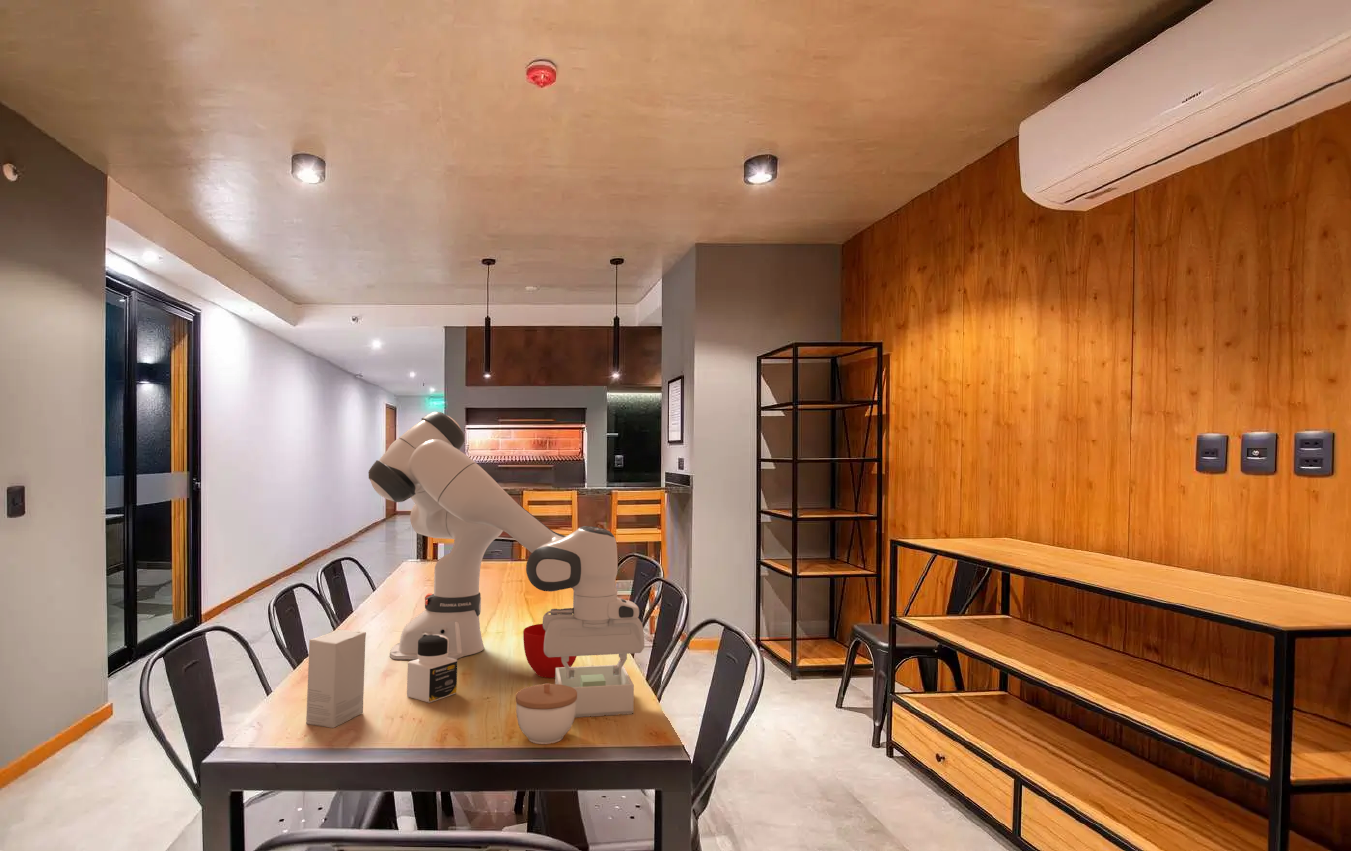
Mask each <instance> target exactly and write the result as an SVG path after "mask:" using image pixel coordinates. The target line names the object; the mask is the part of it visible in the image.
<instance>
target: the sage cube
mask: <svg viewBox="0 0 1351 851" xmlns="http://www.w3.org/2000/svg"><path fill="white" fill-rule="evenodd" d="M605 683H606V681H605V678H604V676H603V674H598V675H581V685H580V687H588V686H605Z"/></svg>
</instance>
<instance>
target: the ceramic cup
mask: <svg viewBox="0 0 1351 851" xmlns="http://www.w3.org/2000/svg"><path fill="white" fill-rule="evenodd" d="M522 632H523V633H522V635H523V636H522V637H523V650H524V654H525V659H526V661H527V663H528V664H529V666H530V668H531V669H532V671H533V672H534V673H535V674H536V676H538V677H541V678H549V679H550V678H551V679H552V678H555V671H556V668H559V667H564V665H563V663H562V661H561V657H547V656H546V655H545V653H544V638H545V630H544V629H543V623H537V624H532V625H529V626H527V627H525V628H524V629H523V631H522ZM577 657H578V656H569V661H568V662H567V664H568V665H569V667H573V664H574V663H575V661H576V659H577Z"/></svg>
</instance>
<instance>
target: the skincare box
mask: <svg viewBox="0 0 1351 851" xmlns="http://www.w3.org/2000/svg"><path fill="white" fill-rule="evenodd" d="M366 636H367V632H366V631H358V630H350V629H337V630H334V631H332V632H329V633H326V634H323V635H320V636H317V637H314V638H312V639H309V643H308V644H309V645H308V665H307V666H308V667H307V669H308V670H307V671H308V672H307V693H306V694H307V695H306V696H307V697H306V720H305V721H306V722H305V724H306V725H309V726H310V725H311V726H317V727H325V728H332V729H334V728H335V727H338V726H340V725H342V724H344V723H345V722H348V721H349V720H352V719H354V718H355V717H358V716H359V715H361V714H364V693H365V692H364V691H365V664H366V662H365V658H366Z"/></svg>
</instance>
